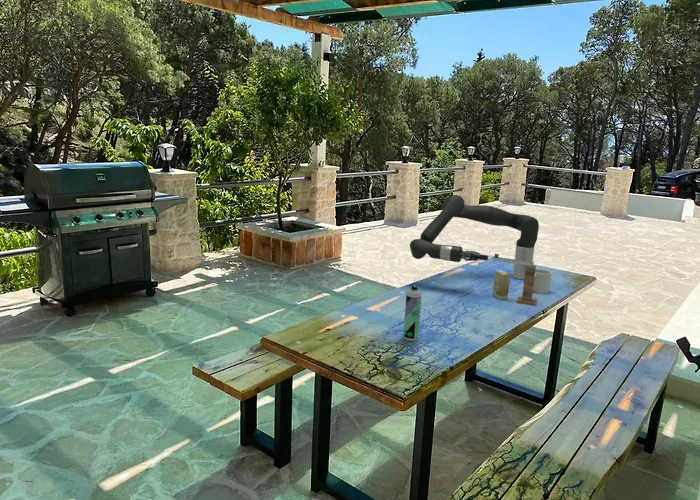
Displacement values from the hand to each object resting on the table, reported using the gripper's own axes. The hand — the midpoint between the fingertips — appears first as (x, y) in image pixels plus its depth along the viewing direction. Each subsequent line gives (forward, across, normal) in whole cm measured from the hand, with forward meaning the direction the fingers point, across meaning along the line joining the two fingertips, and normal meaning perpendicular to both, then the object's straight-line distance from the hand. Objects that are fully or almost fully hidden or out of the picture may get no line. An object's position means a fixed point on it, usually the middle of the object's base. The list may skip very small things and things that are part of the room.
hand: (487, 258), depth 252 cm
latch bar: (+11, 0, +1) cm, 11 cm away
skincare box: (+7, 0, +18) cm, 20 cm away
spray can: (-15, -69, +18) cm, 73 cm away
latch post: (+19, 0, +18) cm, 26 cm away
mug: (+22, +21, +18) cm, 36 cm away
